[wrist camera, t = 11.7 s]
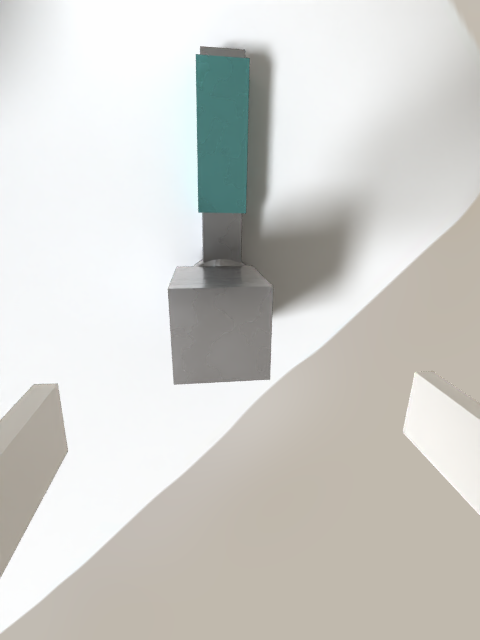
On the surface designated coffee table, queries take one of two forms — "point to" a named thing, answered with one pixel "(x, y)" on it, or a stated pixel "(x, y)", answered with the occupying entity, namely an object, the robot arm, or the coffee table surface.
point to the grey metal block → (220, 324)
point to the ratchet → (222, 151)
